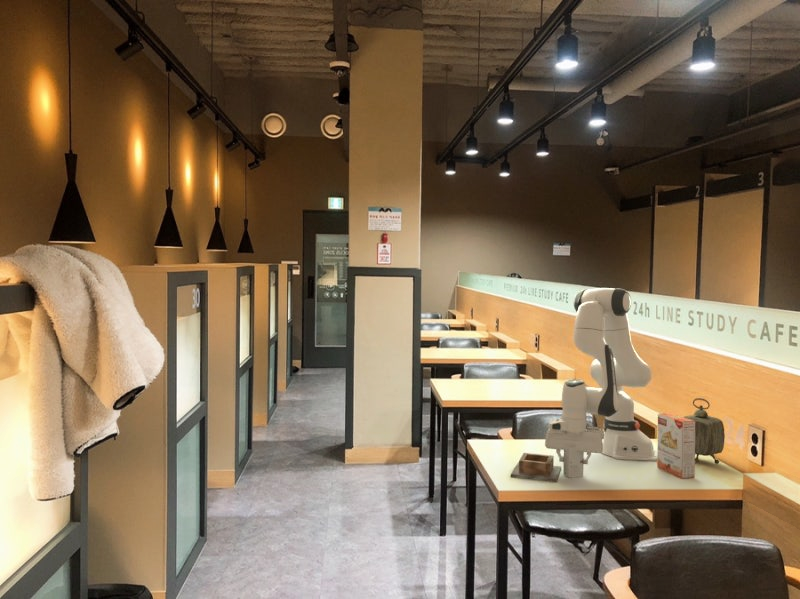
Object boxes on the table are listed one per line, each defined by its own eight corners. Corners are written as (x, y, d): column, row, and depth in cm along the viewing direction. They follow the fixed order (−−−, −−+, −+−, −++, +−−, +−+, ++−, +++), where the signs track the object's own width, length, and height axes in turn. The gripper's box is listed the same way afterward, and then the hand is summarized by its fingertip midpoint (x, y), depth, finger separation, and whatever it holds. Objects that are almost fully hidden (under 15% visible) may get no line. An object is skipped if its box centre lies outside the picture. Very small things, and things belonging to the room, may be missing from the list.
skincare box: (568, 477, 220) (569, 444, 220) (562, 474, 225) (563, 441, 225) (584, 476, 222) (584, 443, 222) (577, 473, 226) (578, 440, 226)
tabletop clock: (724, 464, 237) (725, 400, 237) (710, 468, 233) (711, 402, 232) (689, 455, 250) (690, 394, 249) (675, 458, 245) (676, 396, 245)
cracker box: (656, 467, 233) (656, 413, 233) (669, 466, 235) (670, 412, 234) (680, 479, 220) (681, 421, 219) (695, 478, 221) (696, 420, 220)
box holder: (561, 469, 231) (561, 454, 231) (556, 482, 216) (556, 466, 216) (518, 464, 236) (518, 450, 236) (510, 476, 221) (510, 461, 221)
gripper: (604, 425, 222) (603, 463, 223) (546, 420, 229) (546, 457, 230) (603, 429, 216) (603, 468, 217) (544, 424, 223) (544, 462, 224)
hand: (573, 462), depth 223 cm, fingers closed on skincare box, 7 cm apart
